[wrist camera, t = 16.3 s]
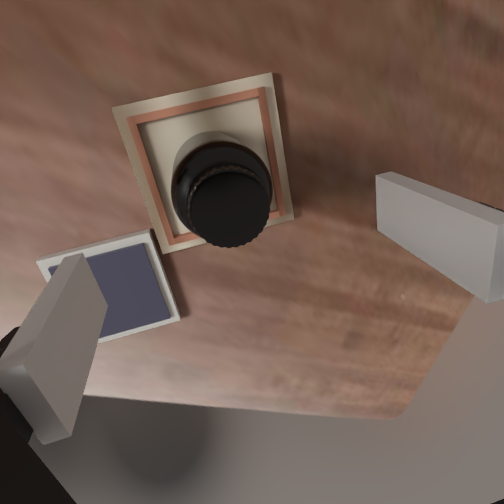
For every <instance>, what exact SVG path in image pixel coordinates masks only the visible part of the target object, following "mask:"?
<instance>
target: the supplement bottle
mask: <svg viewBox="0 0 504 504" xmlns="http://www.w3.org/2000/svg"><path fill="white" fill-rule="evenodd" d="M272 196H273V186H272V180H271V176H270V173H269V171H268V169H267V167H266V165H265V163H264V162H263V161H262V159H261V158H260V157H259V156H258V155H257V154H256V153H255V152H254V151H253V150H251V149H250V148H249V147H247V146H246V145H244V144H243V143H241V142H240V141H239V140H237V139H236V138H234V137H232V136H230V135H228V134H226V133H223V132H218V131H206V132H202V133H199V134H196V135H194V136H192V137H191V138H189V139H188V140H187V141H186V142H185V143H184V144H183V145H182V146H181V147H180V149H179V150H178V152H177V154H176V157H175V160H174V164H173V171H172V180H171V199H172V204H173V208H174V210H175V213H176V215H177V216H178V218H179V220H180V221H181V222H182V224H183V225H184V226H185V227H186V228H187V229H188V230H190V231H191V232H192V233H194V234H195V235H197V236H199V237H200V238H203V239H205V241H206V242H208V243H211V244H212V245H214V246H219V247H227V248H231V247H238V246H240V245H245V244H246V243H247V242H251V241H252V240H253V239H254V238H256V237H257V236H258V234H259V233H261V232H262V231H263V228H264V227H265V226H266V224H267V220H268V219H269V212H270V210H271V209H270V206H271V202H272Z"/></svg>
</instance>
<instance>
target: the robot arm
mask: <svg viewBox="0 0 504 504" xmlns="http://www.w3.org/2000/svg"><path fill="white" fill-rule="evenodd" d="M375 177H376V206H377V230H378V231H379V232H381V233H382V234H384V235H385V236H387V237H388V238H390V239H391V240H393V241H394V242H396V243H397V244H399V245H400V246H402V247H403V248H405V249H406V250H408V251H409V252H411V253H412V254H414V255H415V256H417V257H418V258H420V259H421V260H423V261H424V262H426V263H427V264H429V265H430V266H431V267H433V268H434V269H436V270H437V271H439V272H440V273H442V274H443V275H445V276H446V277H448V278H449V279H451V280H452V281H454V282H455V283H457V284H458V285H460V286H461V287H463V288H464V289H466V290H467V291H469V292H470V293H472V294H473V295H475V296H476V297H478V298H479V299H481V300H482V301H484V302H485V303H487V304H490V303H493V302H496V301H499V300H502V299H504V211H503V210H501V209H498V208H494V207H492V206H489V205H487V204H484V203H480V202H474V201H471V200H469V199H466V198H463V197H460V196H458V195H455V194H452V193H449V192H447V191H444V190H441V189H438V188H436V187H433V186H430V185H427V184H425V183H422V182H419V181H416V180H414V179H411V178H408V177H405V176H403V175H400V174H397V173H394V172H392V171H390V172H386V173H382V174H379V175H375ZM107 308H108V305H107V303H106V300H105V298H104V296H103V294H102V292H101V290H100V288H99V286H98V284H97V281H96V279H95V277H94V275H93V273H92V271H91V269H90V267H89V264H88V262H87V260H86V258H85V256H84V254H83V252H82V253H79V254H75V255H71V256H67V257H64V258H63V260H62V261H61V263H60V264H59V266H58V268H57V269H56V271H55V272H54V274H53V276H52V277H51V279H50V280H49V282H48V283H47V285H46V287H45V288H44V290H43V291H42V293H41V294H40V296H39V298H38V299H37V301H36V302H35V304H34V306H33V307H32V309H31V310H30V312H29V313H28V315H27V317H26V318H25V320H24V321H23V323H22V325H21V326H19V327H16V328H14V329H13V330H12V331H11V332H9V333H8V334H7V335H6V336H5V337H4V338H3V339H2V340H1V341H0V504H76V502H75V501H74V500H73V499H72V498H71V496H70V495H69V494H68V493H67V492H66V490H65V489H64V488H63V486H62V485H61V484H60V483H59V481H58V480H57V479H56V478H55V477H54V475H53V474H52V473H51V472H50V470H49V469H48V468H47V467H46V465H45V464H44V463H43V462H42V461H41V459H40V458H39V457H38V456H37V454H36V453H35V452H34V451H33V449H32V448H31V447H30V446H29V444H28V442H29V440H30V437H31V435H32V432H34V434H35V435H36V436H37V438H38V439H39V440H40V442H41V443H42V444H43V445H45V444H48V443H51V442H54V441H57V440H61V439H63V438H67V437H70V436H71V434H72V431H73V427H74V424H75V420H76V417H77V413H78V410H79V406H80V402H81V399H82V396H83V392H84V389H85V385H86V382H87V378H88V375H89V371H90V368H91V364H92V361H93V357H94V354H95V350H96V347H97V343H98V340H99V336H100V333H101V329H102V326H103V322H104V318H105V315H106V311H107ZM492 504H504V499H502V500H499V501H497V502H494V503H492Z"/></svg>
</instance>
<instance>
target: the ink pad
mask: <svg viewBox="0 0 504 504" xmlns="http://www.w3.org/2000/svg"><path fill="white" fill-rule="evenodd" d="M82 252H83V254H84V256H85V258H86V260H87V262H88V264H89V267H90V269H91V271H92V273H93V275H94V277H95V279H96V281H97V284H98V286H99V288H100V290H101V292H102V294H103V296H104V298H105V300H106V303H107V305H108V308H107V311H106V315H105V318H104V322H103V326H102V329H101V333H100V336H99V340H98V343H102V342H105V341H109V340H112V339H116V338H119V337H123V336H126V335H130V334H133V333H137V332H140V331H144V330H148V329H151V328H155V327H158V326H162V325H165V324H169V323H172V322H176V321H179V320H180V312H179V309H178V307H177V304H176V301H175V298H174V295H173V293H172V290H171V287H170V284H169V281H168V279H167V276H166V273H165V270H164V268H163V265H162V262H161V259H160V256H159V254H158V251H157V248H156V245H155V242H154V240H153V237H152V234H151V231H150V229H146V230H142V231H138V232H134V233H131V234H127V235H123V236H119V237H115V238H111V239H107V240H103V241H99V242H96V243H92V244H88V245H84V246H80V247H76V248H72V249H68V250H64V251H60V252H57V253H53V254H49V255H45V256H41V257H39V258H38V260H37V261H36V263H37V265H38V267H39V268H40V270H41V272H42V274H43V276H44V278H45V279H46V281H47V283H48V282H49V280H50V279H51V277H52V276H53V274H54V272H55V271H56V269H57V268H58V266H59V264H60V263H61V261H62V260H63V258H64V257H67V256H71V255H75V254H79V253H82ZM98 343H97V344H98Z"/></svg>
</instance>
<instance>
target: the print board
mask: <svg viewBox="0 0 504 504" xmlns="http://www.w3.org/2000/svg"><path fill="white" fill-rule="evenodd" d="M112 111H113V114H114V117H115V120H116V123H117V125H118V128H119V131H120V134H121V137H122V140H123V142H124V145H125V148H126V151H127V154H128V157H129V160H130V162H131V165H132V168H133V171H134V174H135V177H136V179H137V182H138V185H139V188H140V191H141V194H142V196H143V199H144V202H145V205H146V208H147V211H148V213H149V216H150V219H151V222H152V225H153V228H154V231H155V233H156V236H157V239H158V242H159V245H160V248H161V250H162V253H163V254H166V253H170V252H174V251H177V250H181V249H185V248H189V247H192V246H196V245H200V244H204V243H208V242H206V241H205V239H203V238H200V237H199V236H197V235H195V234H194V233H192V232H191V231H190V230H188V229H187V228H186V227H185V226H184V225H183V224H182V222H181V221H180V220H179V218H178V216H177V215H176V213H175V210H174V208H173V204H172V199H171V180H172V171H173V164H174V160H175V157H176V154H177V152H178V150H179V149H180V147H181V146H182V145H183V144H184V143H185V142H186V141H187V140H188V139H189V138H191V137H192V136H194V135H196V134H199V133H202V132H206V131H218V132H223V133H226V134H228V135H230V136H232V137H234V138H236V139H237V140H239V141H240V142H241V143H243V144H244V145H246V146H247V147H249V148H250V149H251V150H253V151H254V152H255V153H256V154H257V155H258V156H259V157H260V158H261V159H262V161H263V162H264V163H265V165H266V167H267V169H268V171H269V173H270V176H271V180H272V186H273V196H272V202H271V206H270V209H271V210H270V212H269V219H268V220H267V224H266V226H265V227H268V226H272V225H276V224H279V223H283V222H287V221H291V220H294V214H293V207H292V201H291V194H290V188H289V181H288V175H287V168H286V162H285V155H284V149H283V142H282V136H281V129H280V123H279V116H278V110H277V103H276V97H275V90H274V84H273V77H272V72H270V73H265V74H261V75H256V76H252V77H247V78H243V79H238V80H234V81H229V82H225V83H220V84H216V85H211V86H207V87H202V88H198V89H193V90H189V91H184V92H180V93H175V94H171V95H166V96H162V97H157V98H153V99H148V100H144V101H139V102H135V103H130V104H126V105H121V106H117V107H112Z"/></svg>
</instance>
